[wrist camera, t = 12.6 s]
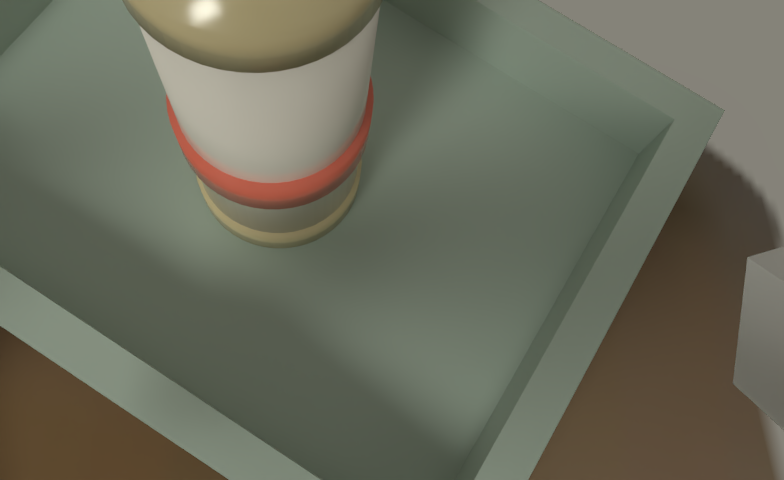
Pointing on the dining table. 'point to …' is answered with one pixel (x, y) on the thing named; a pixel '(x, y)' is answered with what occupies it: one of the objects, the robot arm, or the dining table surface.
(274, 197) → the marked fuse
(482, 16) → the tray
